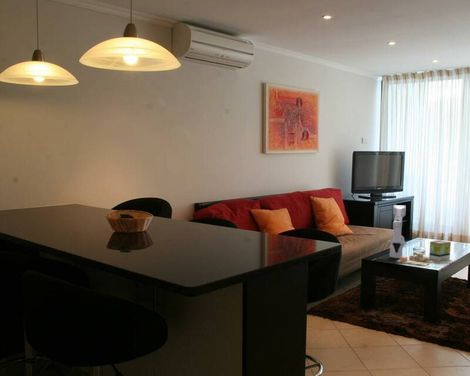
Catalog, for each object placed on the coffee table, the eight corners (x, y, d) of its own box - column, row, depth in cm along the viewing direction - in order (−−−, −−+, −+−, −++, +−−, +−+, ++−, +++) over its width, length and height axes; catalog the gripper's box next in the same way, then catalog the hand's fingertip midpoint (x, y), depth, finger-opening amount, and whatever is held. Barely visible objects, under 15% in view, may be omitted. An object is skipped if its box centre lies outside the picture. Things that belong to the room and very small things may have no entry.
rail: (397, 261, 376) (397, 260, 376) (401, 260, 382) (401, 259, 382) (425, 266, 361) (425, 265, 361) (428, 264, 367) (428, 263, 367)
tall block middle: (416, 261, 378) (416, 253, 377) (418, 260, 381) (418, 252, 380) (421, 262, 375) (421, 254, 375) (423, 261, 378) (423, 253, 378)
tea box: (440, 261, 379) (440, 243, 378) (428, 259, 387) (429, 241, 386) (450, 259, 388) (451, 241, 387) (438, 256, 396) (439, 239, 395)
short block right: (423, 262, 374) (423, 257, 374) (424, 261, 377) (425, 257, 377) (428, 263, 371) (428, 258, 371) (430, 262, 374) (430, 257, 374)
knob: (400, 260, 375) (400, 257, 375) (402, 259, 378) (402, 256, 378) (405, 261, 372) (405, 257, 372) (407, 260, 376) (407, 256, 376)
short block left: (409, 260, 381) (409, 255, 381) (411, 259, 384) (411, 255, 384) (414, 261, 379) (414, 256, 379) (416, 260, 382) (416, 255, 381)
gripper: (386, 235, 380) (385, 251, 381) (404, 237, 370) (403, 254, 371) (390, 234, 385) (389, 250, 386) (407, 236, 375) (407, 253, 376)
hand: (396, 252), depth 379 cm, fingers closed
